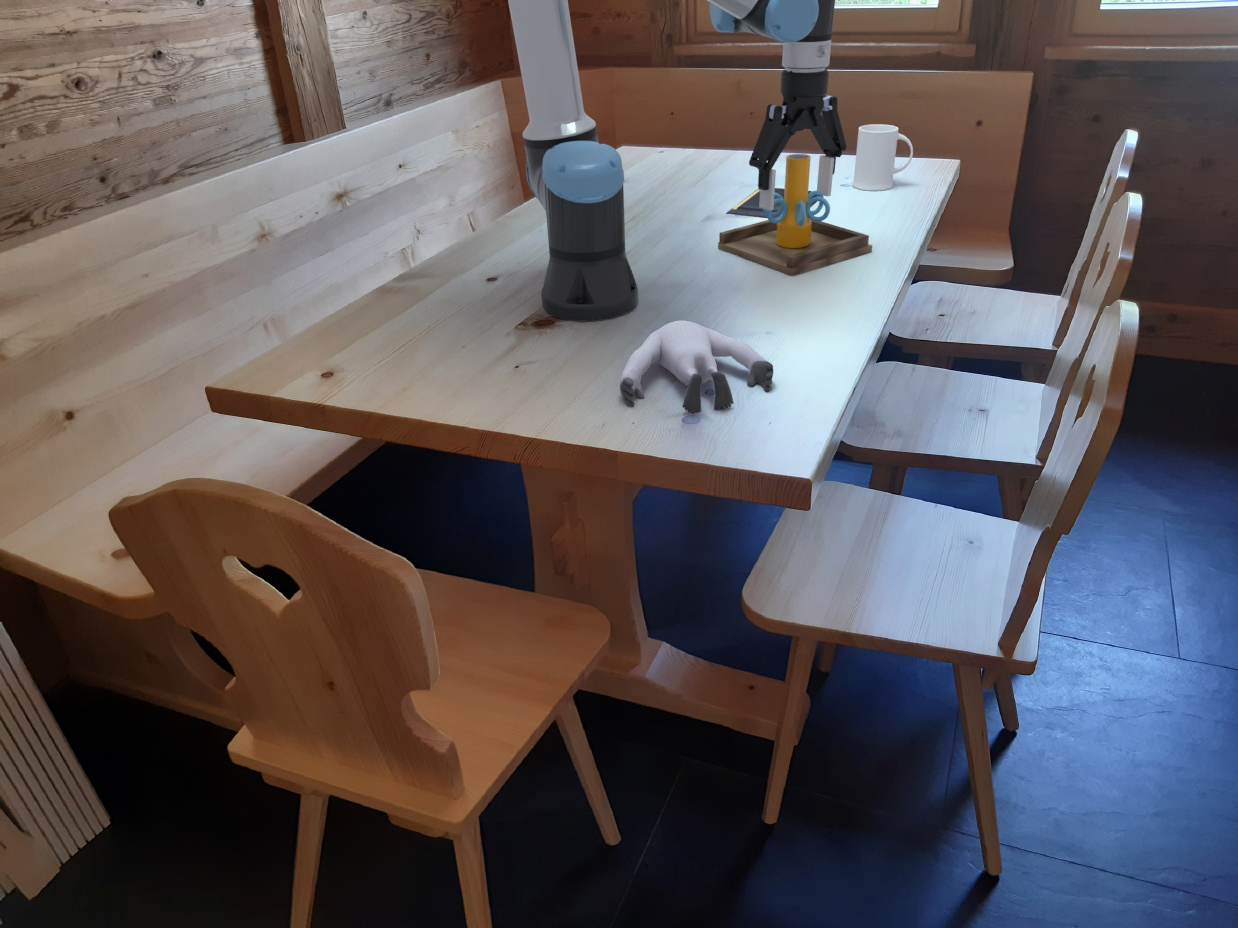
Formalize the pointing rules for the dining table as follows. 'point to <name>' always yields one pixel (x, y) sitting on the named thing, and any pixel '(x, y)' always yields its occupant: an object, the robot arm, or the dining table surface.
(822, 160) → the robot arm
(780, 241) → the cylinder
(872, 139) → the mug
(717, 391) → the yeti figurine
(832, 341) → the dining table surface
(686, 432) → the dining table surface
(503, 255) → the dining table surface
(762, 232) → the open-sided tray
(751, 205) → the wallet
